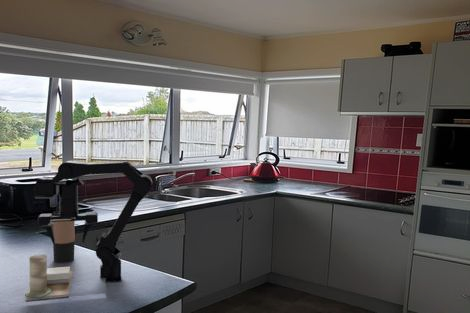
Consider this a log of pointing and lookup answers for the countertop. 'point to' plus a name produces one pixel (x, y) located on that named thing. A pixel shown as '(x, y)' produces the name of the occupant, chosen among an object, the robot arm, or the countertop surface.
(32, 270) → the roller
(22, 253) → the countertop surface
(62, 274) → the slab
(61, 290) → the wooden board
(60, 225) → the travel mug
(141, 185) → the robot arm
